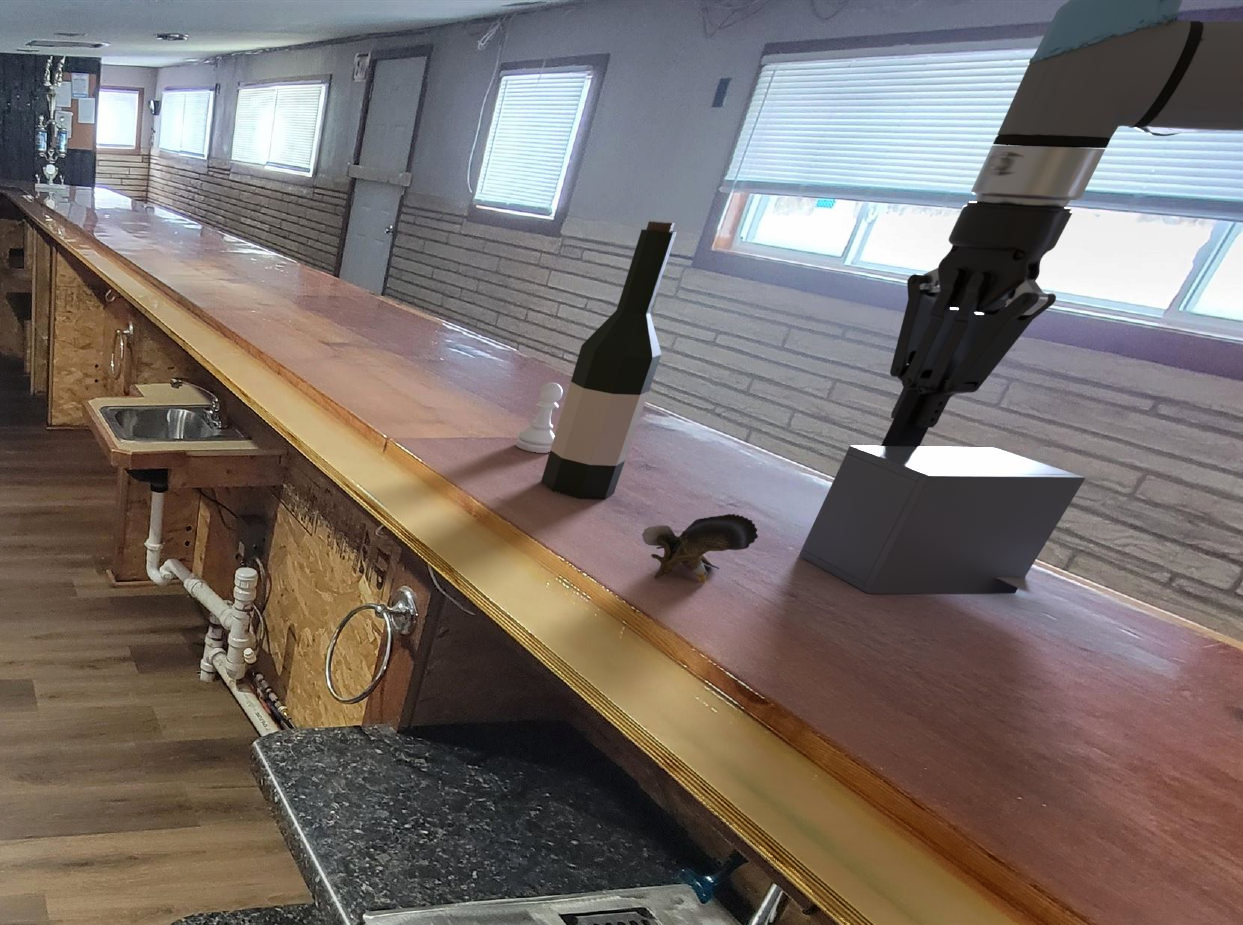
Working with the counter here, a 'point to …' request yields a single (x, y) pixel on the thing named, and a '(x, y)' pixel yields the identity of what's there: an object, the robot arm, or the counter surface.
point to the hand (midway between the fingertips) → (895, 454)
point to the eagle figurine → (699, 542)
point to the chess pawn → (541, 422)
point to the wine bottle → (611, 381)
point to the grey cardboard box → (937, 518)
